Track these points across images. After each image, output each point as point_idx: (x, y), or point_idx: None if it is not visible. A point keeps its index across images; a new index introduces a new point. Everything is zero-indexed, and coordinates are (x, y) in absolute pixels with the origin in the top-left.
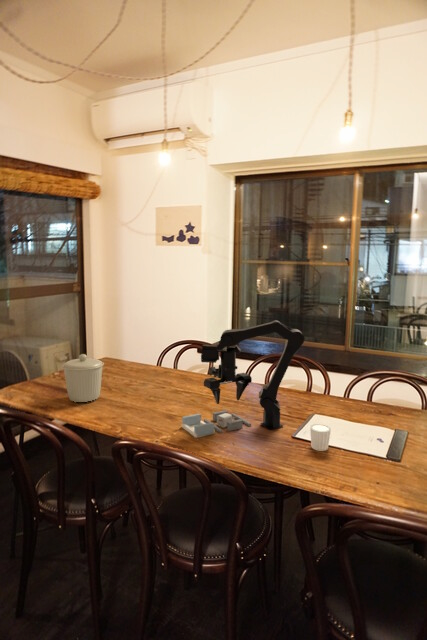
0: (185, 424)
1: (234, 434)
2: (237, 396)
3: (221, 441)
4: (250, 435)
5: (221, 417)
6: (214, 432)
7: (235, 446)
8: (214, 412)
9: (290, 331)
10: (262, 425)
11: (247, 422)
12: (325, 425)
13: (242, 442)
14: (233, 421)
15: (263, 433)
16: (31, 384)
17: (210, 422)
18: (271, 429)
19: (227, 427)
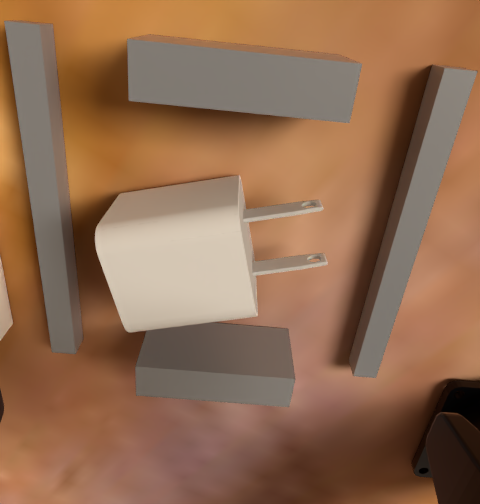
0: None
1: (151, 400)
2: (465, 497)
3: (9, 429)
4: (239, 455)
5: (116, 295)
6: (6, 330)
7: (62, 500)
8: (158, 43)
9: None
10: (436, 408)
11: (368, 350)
12: None
13: (129, 489)
14: (196, 386)
15: (334, 472)
16: None
17: (44, 159)
18: (422, 469)
19: (146, 334)
